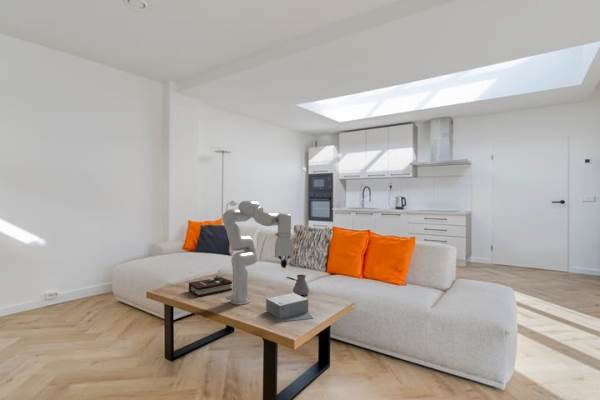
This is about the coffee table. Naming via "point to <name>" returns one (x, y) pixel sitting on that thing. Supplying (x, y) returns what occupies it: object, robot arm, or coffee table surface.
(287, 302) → the hard drive box
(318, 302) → the coffee table surface
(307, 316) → the mat
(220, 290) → the decorative book
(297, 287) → the coffee pot
